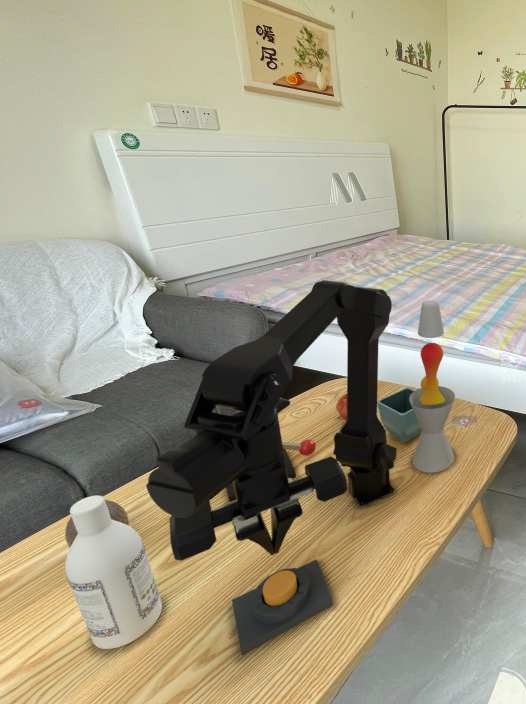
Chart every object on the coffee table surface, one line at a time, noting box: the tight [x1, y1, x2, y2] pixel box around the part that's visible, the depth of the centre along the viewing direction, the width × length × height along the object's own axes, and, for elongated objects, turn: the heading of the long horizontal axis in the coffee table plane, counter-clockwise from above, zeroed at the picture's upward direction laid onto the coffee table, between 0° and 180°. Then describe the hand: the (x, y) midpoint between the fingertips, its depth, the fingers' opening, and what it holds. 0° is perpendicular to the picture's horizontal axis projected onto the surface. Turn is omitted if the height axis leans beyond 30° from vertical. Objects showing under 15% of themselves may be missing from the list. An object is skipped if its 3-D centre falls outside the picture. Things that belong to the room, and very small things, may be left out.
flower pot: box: [377, 387, 422, 443], centre depth 98 cm, size 9×9×9 cm
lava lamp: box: [409, 299, 456, 473], centre depth 86 cm, size 9×9×35 cm
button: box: [263, 570, 297, 606], centre depth 60 cm, size 4×4×2 cm
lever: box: [282, 438, 317, 457], centre depth 85 cm, size 13×3×3 cm, turn 128°
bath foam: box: [64, 494, 163, 650], centre depth 54 cm, size 7×7×20 cm
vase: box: [64, 499, 130, 548], centre depth 67 cm, size 7×7×9 cm
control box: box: [231, 558, 334, 656], centre depth 60 cm, size 11×8×3 cm
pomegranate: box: [335, 392, 347, 422], centre depth 102 cm, size 7×7×10 cm
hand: (274, 551), depth 58 cm, fingers closed
